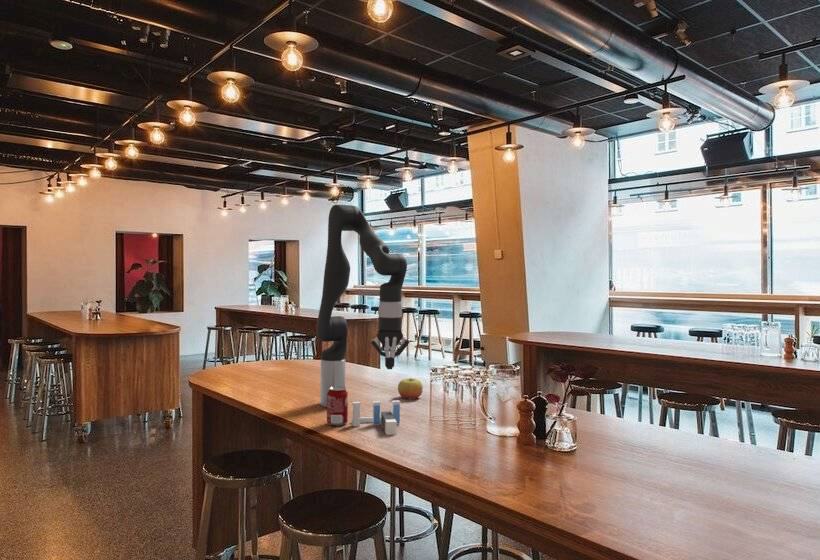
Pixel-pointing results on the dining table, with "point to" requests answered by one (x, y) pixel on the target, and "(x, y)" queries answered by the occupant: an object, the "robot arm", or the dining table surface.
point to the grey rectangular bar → (389, 423)
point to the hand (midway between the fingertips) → (389, 368)
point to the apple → (410, 388)
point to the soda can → (337, 406)
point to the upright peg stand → (374, 413)
